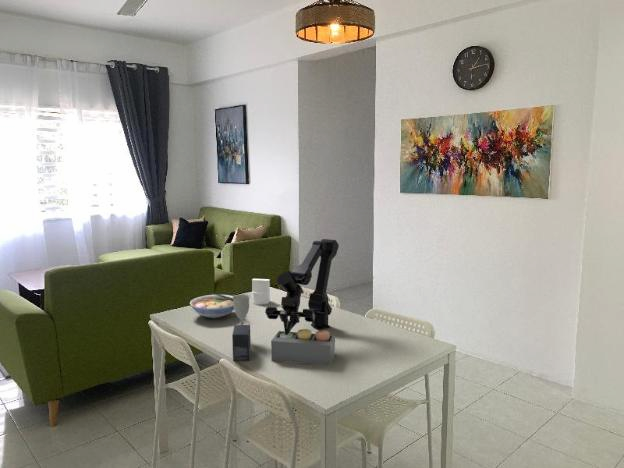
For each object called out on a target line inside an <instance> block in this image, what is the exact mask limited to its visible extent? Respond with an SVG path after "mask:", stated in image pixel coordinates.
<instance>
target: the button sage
mask: <svg viewBox="0 0 624 468" xmlns="http://www.w3.org/2000/svg"><path fill="white" fill-rule="evenodd" d="M280 338H289V339H293V334H292V333H289V334H288V335H286V334H285V333H281V334H280Z"/></svg>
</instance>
